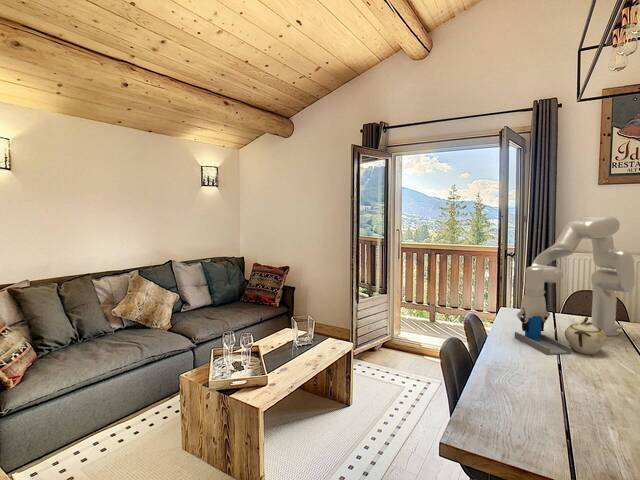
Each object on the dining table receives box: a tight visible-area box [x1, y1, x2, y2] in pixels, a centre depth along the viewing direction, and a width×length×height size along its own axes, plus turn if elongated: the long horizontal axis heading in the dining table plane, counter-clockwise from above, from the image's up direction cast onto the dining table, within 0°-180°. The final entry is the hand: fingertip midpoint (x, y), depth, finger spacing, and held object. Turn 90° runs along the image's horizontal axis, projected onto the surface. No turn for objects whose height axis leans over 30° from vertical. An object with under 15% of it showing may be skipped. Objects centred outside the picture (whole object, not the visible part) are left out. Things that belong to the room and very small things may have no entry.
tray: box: [514, 331, 573, 356], centre depth 168 cm, size 11×22×3 cm, turn 7°
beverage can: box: [524, 315, 542, 341], centre depth 174 cm, size 6×6×12 cm
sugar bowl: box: [564, 316, 608, 355], centre depth 162 cm, size 20×15×15 cm
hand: (532, 330), depth 174 cm, fingers open, 7 cm apart
